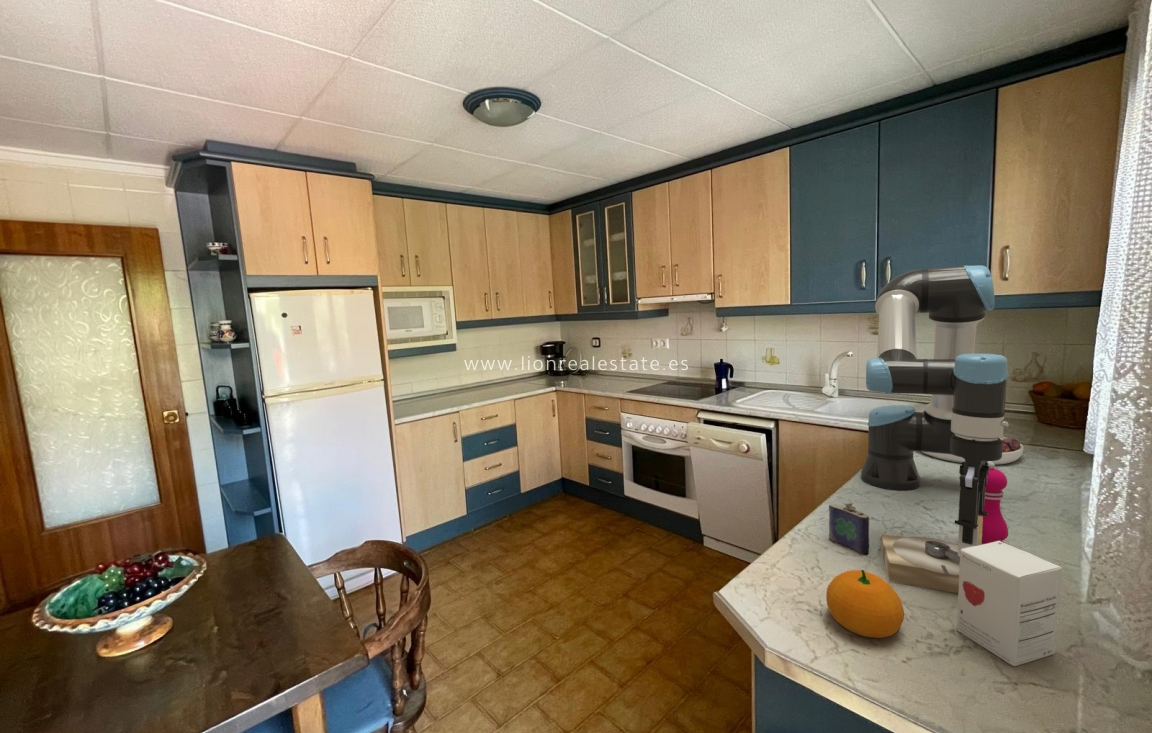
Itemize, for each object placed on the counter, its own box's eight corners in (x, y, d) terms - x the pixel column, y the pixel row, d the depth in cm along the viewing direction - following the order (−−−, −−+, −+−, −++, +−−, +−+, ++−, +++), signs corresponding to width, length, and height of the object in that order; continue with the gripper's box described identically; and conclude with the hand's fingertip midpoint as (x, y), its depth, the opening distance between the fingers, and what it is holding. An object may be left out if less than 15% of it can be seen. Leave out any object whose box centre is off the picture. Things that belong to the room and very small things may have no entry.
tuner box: (879, 548, 107) (880, 530, 106) (980, 562, 99) (981, 544, 98) (890, 584, 94) (890, 564, 93) (1007, 604, 86) (1008, 582, 85)
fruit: (813, 621, 84) (813, 569, 83) (844, 595, 91) (845, 547, 90) (885, 658, 75) (886, 600, 74) (915, 626, 81) (916, 573, 80)
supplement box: (953, 629, 80) (957, 547, 78) (994, 619, 82) (998, 538, 80) (1013, 668, 71) (1019, 576, 70) (1057, 655, 73) (1063, 566, 71)
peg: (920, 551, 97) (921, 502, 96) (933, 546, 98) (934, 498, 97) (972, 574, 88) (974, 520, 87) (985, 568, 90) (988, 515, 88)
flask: (826, 539, 112) (826, 497, 111) (834, 536, 113) (834, 494, 112) (864, 557, 104) (865, 511, 102) (872, 553, 105) (873, 508, 104)
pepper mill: (1015, 556, 100) (1020, 467, 98) (977, 554, 102) (981, 466, 99) (993, 539, 107) (997, 456, 105) (957, 538, 109) (960, 456, 107)
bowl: (901, 456, 166) (902, 435, 165) (922, 437, 186) (922, 418, 185) (1017, 475, 144) (1018, 450, 143) (1026, 451, 163) (1027, 429, 162)
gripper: (997, 450, 79) (988, 578, 82) (1008, 429, 91) (1000, 541, 94) (941, 442, 85) (935, 563, 88) (959, 423, 97) (953, 530, 100)
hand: (969, 551), depth 91 cm, fingers open, 5 cm apart
